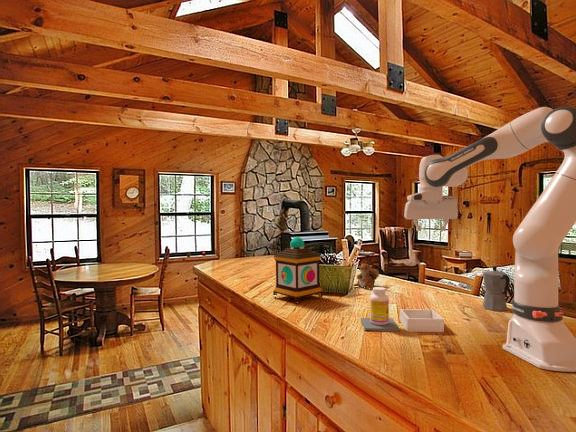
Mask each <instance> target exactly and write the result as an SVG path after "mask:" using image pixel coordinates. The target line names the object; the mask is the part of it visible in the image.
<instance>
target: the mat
mask: <svg viewBox="0 0 576 432" xmlns="http://www.w3.org/2000/svg"><path fill="white" fill-rule="evenodd" d="M360 322H361V324H363V325H362V327H363V326H364V327H363V330H364V329H365V330H378V331H377V332H401V331H400V329H401V328H400V327H399V326H398V324H397V323H396V322H395V320H394V318H392V317H389V323H388V324H386V325H375V324H372V323H371V321H370V317H361V318H360ZM365 330H364V331H365Z"/></svg>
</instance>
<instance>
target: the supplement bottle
mask: <svg viewBox="0 0 576 432" xmlns="http://www.w3.org/2000/svg"><path fill="white" fill-rule="evenodd" d="M372 292H373V293H372V294H371V295H370V297H369V301H370V302H369V307H370V309H369V312H370V313H369V316H370V317H369V318H370V321H371V323H372V324H375V325H386V324H388V323H389V318H390V317H389V316H390V313H389V312H390V309H389V307H390V306H389V305H390V304H389V302H390V301H389V296H388V295H387V294H386V292H387V289H386V288H385V287H383V286H375V287H373V288H372Z"/></svg>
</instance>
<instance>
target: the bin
mask: <svg viewBox="0 0 576 432" xmlns="http://www.w3.org/2000/svg"><path fill="white" fill-rule="evenodd" d="M399 321H400V323H401V325H402V326H403V327H404V328H405V330H406V331H407V332H409V333H417V332H418V333H444V332H445V319H444V317H442V316H441V315H440V314H439V313H438V312H436V311H435V310H434V309H425V308H424V309H421V308H420V309H418V308H417V309H415V308H414V309H413V308H412V309H409V308H408V309H407V308H406V309H403V308H402V309H399Z"/></svg>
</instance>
